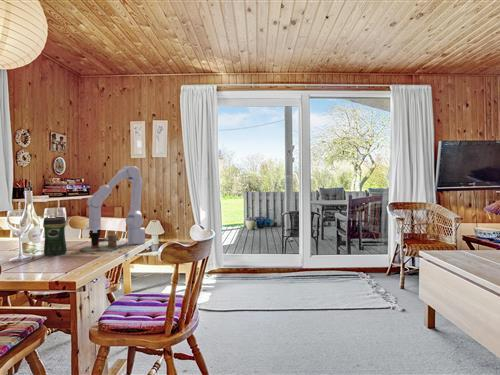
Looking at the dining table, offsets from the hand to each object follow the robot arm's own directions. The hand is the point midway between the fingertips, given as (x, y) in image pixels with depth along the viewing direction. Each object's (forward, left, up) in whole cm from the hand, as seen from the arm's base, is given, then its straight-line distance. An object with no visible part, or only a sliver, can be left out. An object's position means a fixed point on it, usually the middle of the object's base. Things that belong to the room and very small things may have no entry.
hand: (95, 244), depth 179 cm
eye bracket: (-2, 0, -2) cm, 3 cm away
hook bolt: (-5, 0, -1) cm, 5 cm away
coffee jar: (+18, +6, -2) cm, 19 cm away
